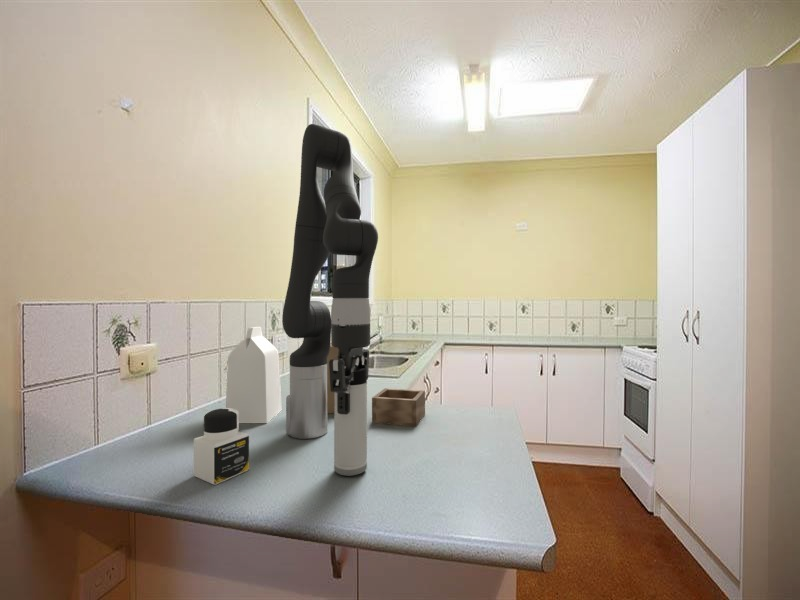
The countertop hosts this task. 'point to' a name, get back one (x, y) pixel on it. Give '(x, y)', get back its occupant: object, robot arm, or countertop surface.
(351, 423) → the travel mug
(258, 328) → the milk
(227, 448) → the medicine bottle
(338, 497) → the countertop surface
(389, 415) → the open wooden box
